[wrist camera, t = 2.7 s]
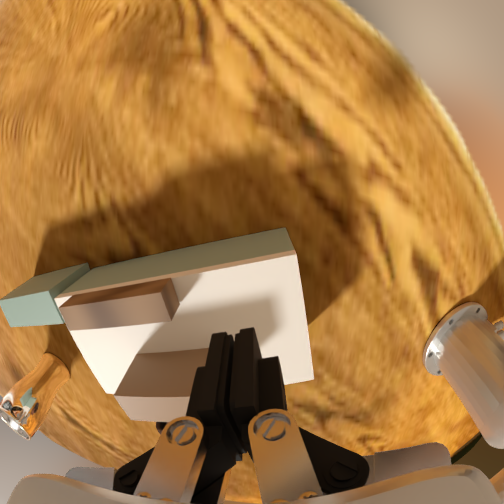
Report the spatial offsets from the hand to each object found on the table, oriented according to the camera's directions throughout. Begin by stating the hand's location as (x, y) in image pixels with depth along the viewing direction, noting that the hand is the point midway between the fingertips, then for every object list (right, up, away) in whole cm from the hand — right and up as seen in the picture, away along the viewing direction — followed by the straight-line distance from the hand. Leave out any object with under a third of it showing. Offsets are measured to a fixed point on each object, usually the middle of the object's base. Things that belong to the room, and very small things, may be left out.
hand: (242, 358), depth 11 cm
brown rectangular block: (-10, 0, +9) cm, 14 cm away
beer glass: (-32, -15, +24) cm, 43 cm away
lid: (-6, -3, +13) cm, 15 cm away
